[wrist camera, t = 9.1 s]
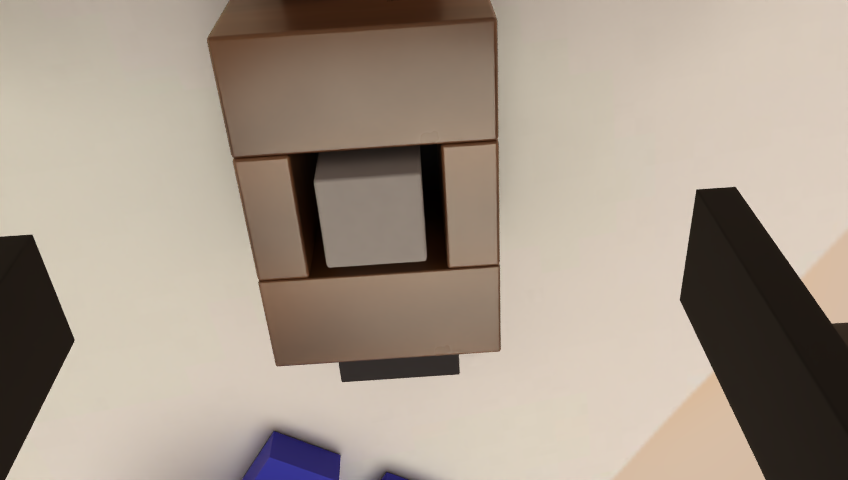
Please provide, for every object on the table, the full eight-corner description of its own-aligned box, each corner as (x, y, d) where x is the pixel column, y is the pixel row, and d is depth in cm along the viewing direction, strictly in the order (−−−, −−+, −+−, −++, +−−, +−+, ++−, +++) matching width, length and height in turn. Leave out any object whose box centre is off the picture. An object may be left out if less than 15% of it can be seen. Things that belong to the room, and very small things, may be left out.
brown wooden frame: (237, -16, 20) (205, 37, 16) (479, -33, 20) (497, 17, 16) (291, 279, 25) (275, 367, 21) (486, 266, 25) (501, 352, 21)
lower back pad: (251, -237, 18) (202, -223, 13) (427, -251, 18) (439, -240, 13) (343, 362, 28) (333, 490, 23) (457, 355, 28) (470, 481, 23)
